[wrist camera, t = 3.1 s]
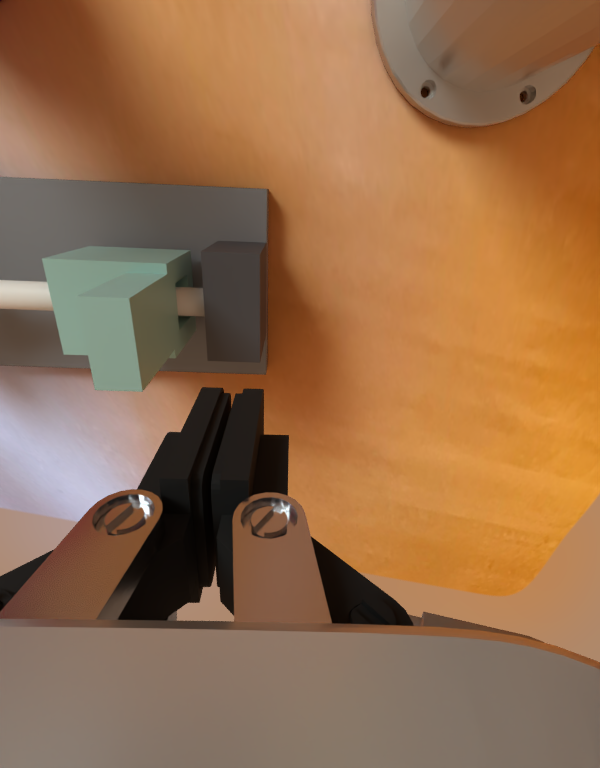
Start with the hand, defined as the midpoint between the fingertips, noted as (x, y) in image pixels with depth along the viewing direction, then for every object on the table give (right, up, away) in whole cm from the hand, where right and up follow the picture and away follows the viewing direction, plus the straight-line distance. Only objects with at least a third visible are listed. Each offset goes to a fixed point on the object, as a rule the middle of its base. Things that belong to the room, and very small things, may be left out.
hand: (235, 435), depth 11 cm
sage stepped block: (-8, +7, +14) cm, 18 cm away
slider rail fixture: (-13, +9, +16) cm, 22 cm away
